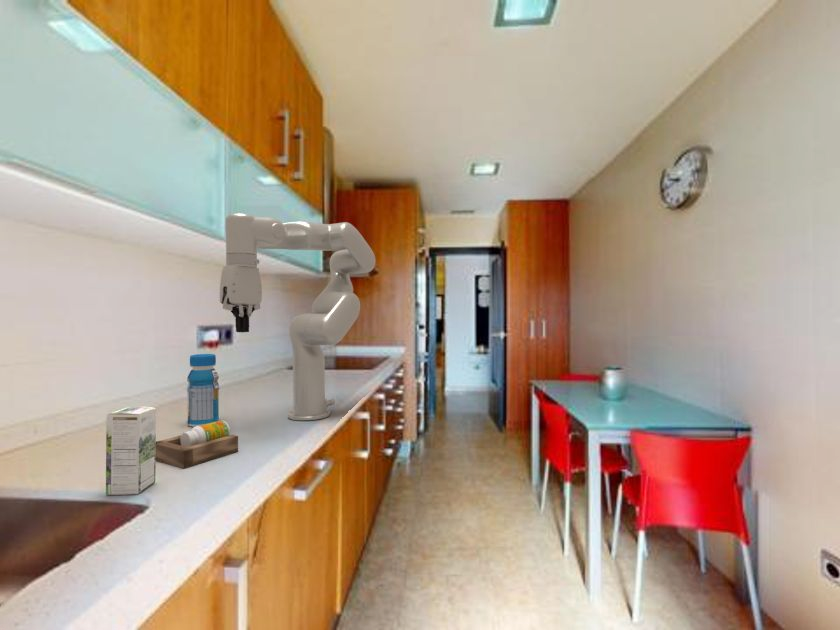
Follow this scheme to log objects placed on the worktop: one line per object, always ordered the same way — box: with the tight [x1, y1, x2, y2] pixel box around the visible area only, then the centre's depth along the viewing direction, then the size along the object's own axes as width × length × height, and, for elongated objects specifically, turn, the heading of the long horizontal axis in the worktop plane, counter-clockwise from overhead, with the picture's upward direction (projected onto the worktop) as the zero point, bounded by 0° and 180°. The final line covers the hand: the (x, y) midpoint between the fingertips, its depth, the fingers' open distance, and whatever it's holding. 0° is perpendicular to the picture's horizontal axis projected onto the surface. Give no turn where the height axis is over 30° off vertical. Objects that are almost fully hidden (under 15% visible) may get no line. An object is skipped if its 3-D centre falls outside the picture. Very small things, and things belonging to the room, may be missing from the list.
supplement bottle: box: [180, 420, 231, 447], centre depth 103 cm, size 5×5×10 cm
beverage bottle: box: [186, 353, 220, 428], centre depth 129 cm, size 8×8×20 cm
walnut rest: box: [156, 434, 239, 470], centre depth 100 cm, size 13×12×4 cm
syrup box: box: [105, 406, 157, 496], centre depth 81 cm, size 6×6×14 cm
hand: (242, 331), depth 117 cm, fingers closed
